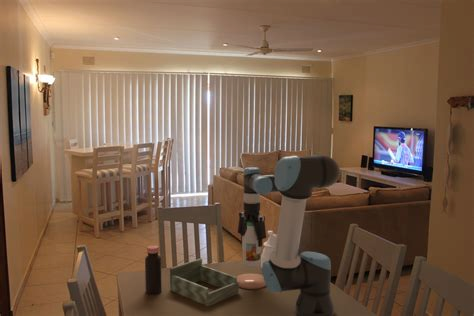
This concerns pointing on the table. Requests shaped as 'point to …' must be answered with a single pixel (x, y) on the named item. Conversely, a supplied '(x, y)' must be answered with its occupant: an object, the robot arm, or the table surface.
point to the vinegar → (153, 270)
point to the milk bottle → (250, 247)
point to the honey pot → (268, 247)
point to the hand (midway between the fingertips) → (251, 251)
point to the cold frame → (195, 271)
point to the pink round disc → (251, 281)
